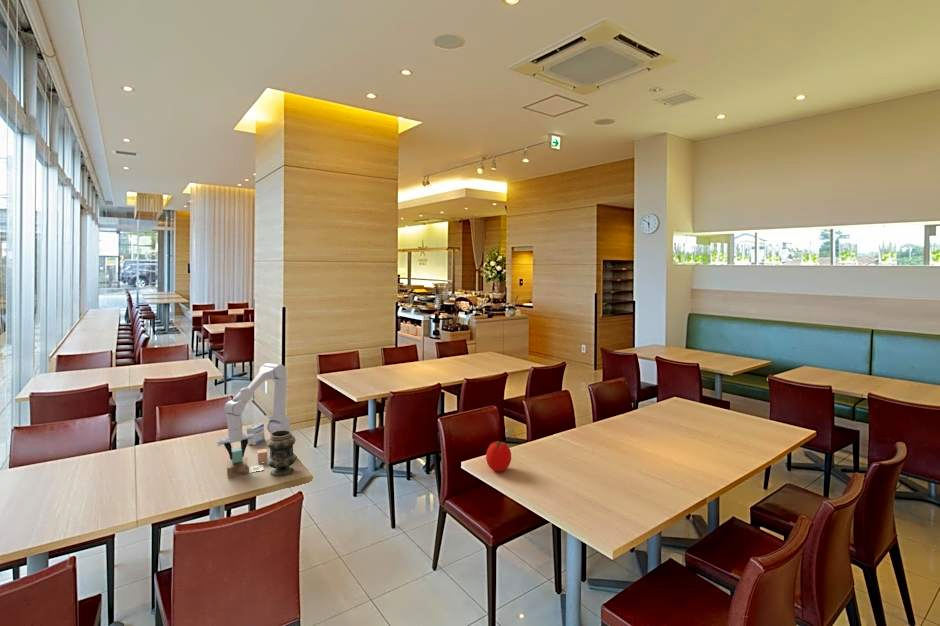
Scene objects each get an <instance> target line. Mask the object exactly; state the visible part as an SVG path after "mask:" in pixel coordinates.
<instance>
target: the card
mask: <svg viewBox="0 0 940 626" xmlns="http://www.w3.org/2000/svg"><path fill="white" fill-rule="evenodd" d="M259 466H261V468H260V467H259ZM262 466H263V467H264V464H260V465H259V464H258V465H253V466H248V474H252V472H254V473H257V472H256V471H260V472H263V471H262V470H264V471H265V468H263V467H262ZM253 467H254V468H253Z"/></svg>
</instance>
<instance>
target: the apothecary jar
mask: <svg viewBox="0 0 940 626" xmlns="http://www.w3.org/2000/svg"><path fill="white" fill-rule="evenodd" d="M295 443H296V437H295V436H294V435H293V434H292V431H291V430H290V431H289V430H277V431H274V432H272V433H271V434H270V436H269V438H268V439H267V441H266V446H267V447H268V448H269V456H268V457H267V458H268V459H267V462H266V463H267V466H268V467H270V468H272V470H271V471H270V474H269V475H270V476H272V477H275V478H281V477H287V476H290V475H291V474H293V473H294V472H295V468H294V467H293V465H294V464H295V463H296V461H297V456H296V454H295V453H294V444H295Z"/></svg>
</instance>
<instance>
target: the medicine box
mask: <svg viewBox="0 0 940 626" xmlns="http://www.w3.org/2000/svg"><path fill="white" fill-rule="evenodd" d="M246 434H254V439H248V444H253V445H252V446H257V445H258V444H260V443H262V442H263V441H265V440H264V439H265V438H266V436H265V425H264V423H261V422H260V423H255V424H253V425H251V426H250V427H248V428H246ZM261 441H262V442H261ZM259 442H260V443H259ZM257 443H258V444H257ZM248 444H247V445H248ZM256 444H257V445H256Z"/></svg>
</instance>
